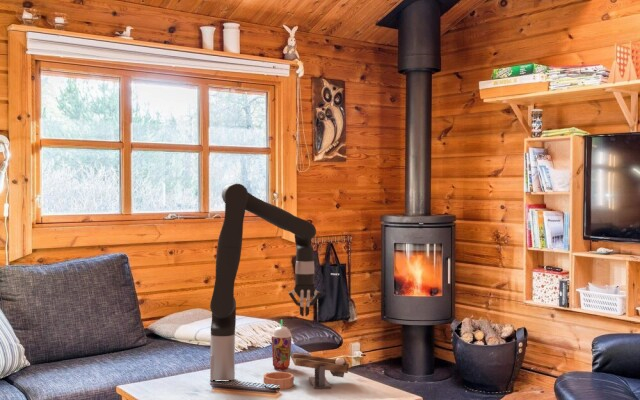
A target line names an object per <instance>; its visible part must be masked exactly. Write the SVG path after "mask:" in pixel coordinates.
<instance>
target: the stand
mask: <svg viewBox="0 0 640 400" xmlns="http://www.w3.org/2000/svg"><path fill="white" fill-rule="evenodd" d="M308 380H309V382H310V384H311V386H312V387H313V389H314V390H322V389H323V390H326V389H327V390H328V389H329V390H330V389H331V385H330V383H329V382H328V380H327V378H326V370H325V366H319V369H315V368H314V376H309V377H308Z"/></svg>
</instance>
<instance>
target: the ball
mask: <svg viewBox="0 0 640 400" xmlns="http://www.w3.org/2000/svg"><path fill="white" fill-rule="evenodd" d="M344 359H345V358H343V357H337V358H336V361H335V363H336V364H339V365H344V364H345V361H344Z"/></svg>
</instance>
